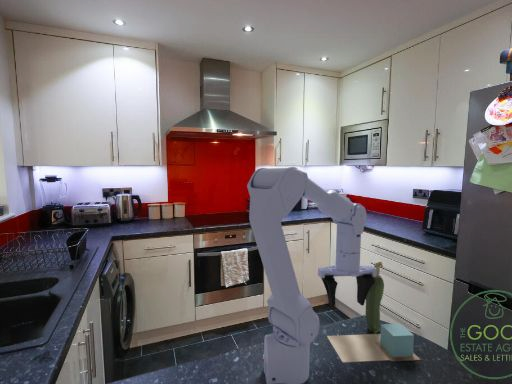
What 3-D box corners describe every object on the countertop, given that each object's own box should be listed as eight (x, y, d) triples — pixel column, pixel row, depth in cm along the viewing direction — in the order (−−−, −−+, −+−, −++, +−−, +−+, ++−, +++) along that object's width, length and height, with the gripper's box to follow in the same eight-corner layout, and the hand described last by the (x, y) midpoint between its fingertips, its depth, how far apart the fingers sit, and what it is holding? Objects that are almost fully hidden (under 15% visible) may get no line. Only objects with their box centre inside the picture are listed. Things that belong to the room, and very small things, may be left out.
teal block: (392, 357, 61) (393, 336, 61) (380, 343, 66) (381, 324, 66) (412, 356, 62) (413, 335, 61) (399, 343, 67) (400, 323, 66)
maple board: (343, 369, 59) (343, 363, 59) (326, 340, 69) (326, 335, 69) (420, 365, 61) (420, 359, 61) (392, 337, 71) (392, 332, 71)
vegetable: (360, 330, 74) (363, 259, 73) (371, 327, 76) (374, 257, 75) (374, 339, 70) (377, 264, 69) (385, 335, 72) (388, 261, 71)
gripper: (326, 255, 62) (324, 313, 62) (384, 254, 64) (382, 310, 64) (315, 248, 69) (314, 299, 69) (368, 247, 71) (366, 297, 71)
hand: (346, 304), depth 67 cm, fingers open, 7 cm apart
